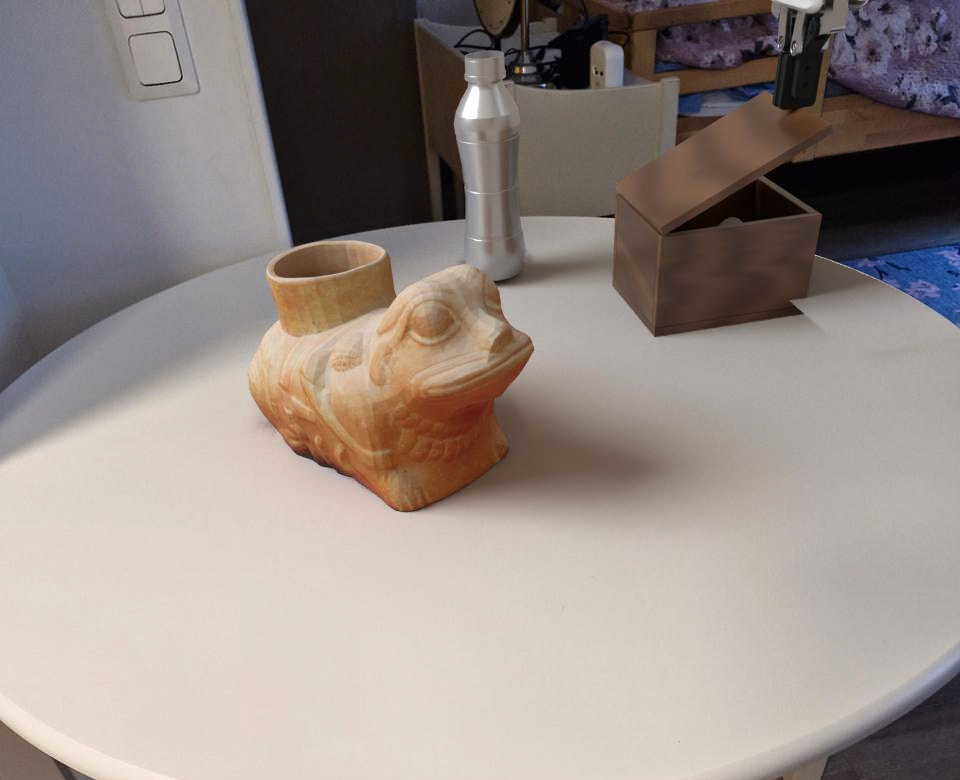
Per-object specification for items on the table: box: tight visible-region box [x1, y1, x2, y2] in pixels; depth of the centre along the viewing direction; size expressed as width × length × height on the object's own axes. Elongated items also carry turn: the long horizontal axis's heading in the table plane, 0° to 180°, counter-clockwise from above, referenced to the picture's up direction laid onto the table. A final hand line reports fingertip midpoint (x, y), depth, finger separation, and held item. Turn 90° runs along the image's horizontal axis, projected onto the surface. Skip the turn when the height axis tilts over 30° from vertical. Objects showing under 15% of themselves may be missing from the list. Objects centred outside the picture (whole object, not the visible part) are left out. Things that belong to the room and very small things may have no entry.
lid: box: [614, 90, 834, 236], centre depth 79 cm, size 15×13×1 cm
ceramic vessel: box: [247, 239, 535, 512], centre depth 66 cm, size 14×26×15 cm, turn 46°
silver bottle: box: [453, 50, 527, 282], centre depth 88 cm, size 6×7×20 cm
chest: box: [612, 175, 823, 338], centre depth 84 cm, size 15×13×9 cm
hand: (793, 105), depth 77 cm, fingers closed
